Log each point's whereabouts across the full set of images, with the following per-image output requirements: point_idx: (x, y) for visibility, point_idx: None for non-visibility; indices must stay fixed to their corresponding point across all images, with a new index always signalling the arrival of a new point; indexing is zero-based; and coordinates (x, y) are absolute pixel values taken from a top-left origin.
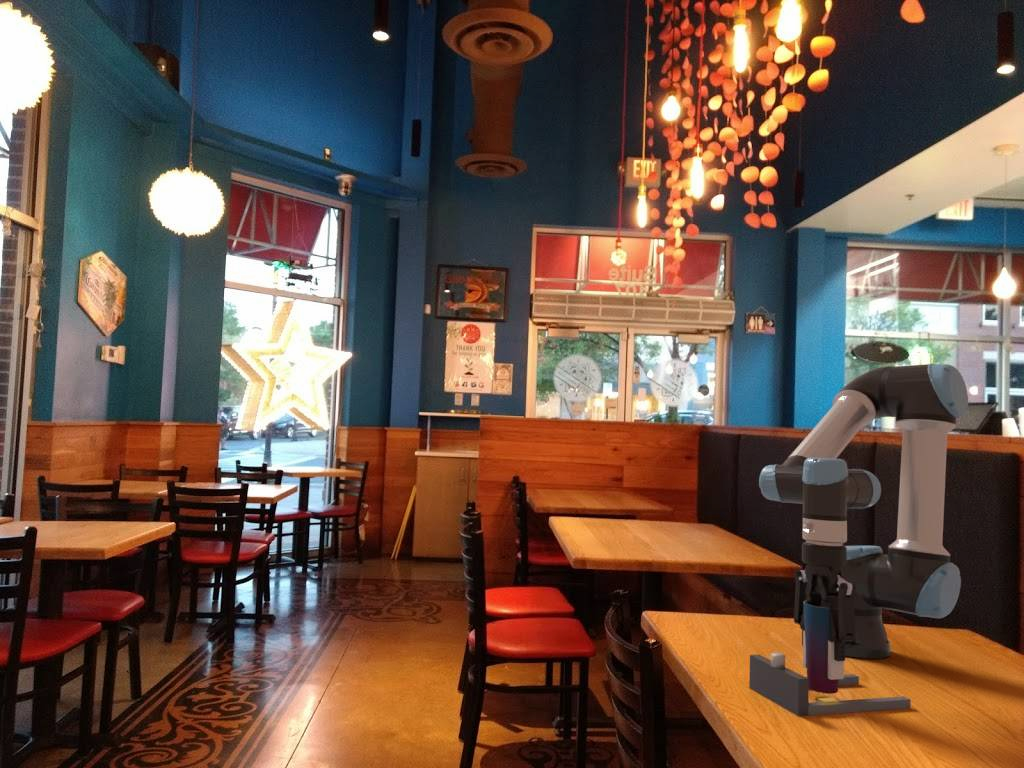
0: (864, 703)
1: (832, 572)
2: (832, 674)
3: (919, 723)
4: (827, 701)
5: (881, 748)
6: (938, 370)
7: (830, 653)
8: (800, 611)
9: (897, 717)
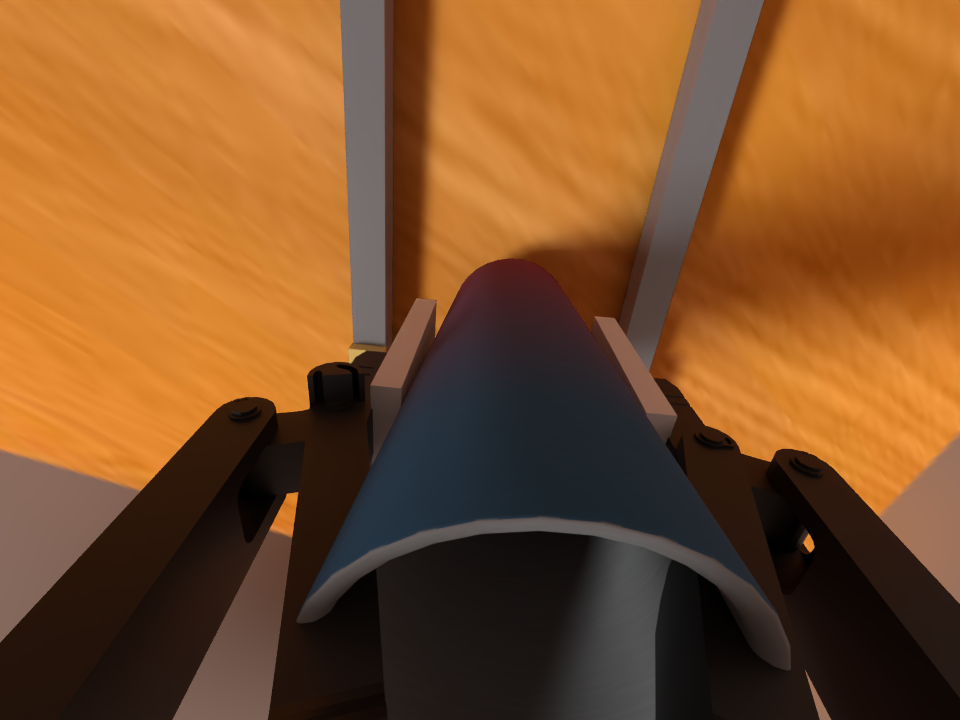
0: (681, 263)
1: None
2: None
3: (866, 133)
4: None
5: (870, 445)
6: None
7: None
8: (247, 545)
9: (775, 171)
